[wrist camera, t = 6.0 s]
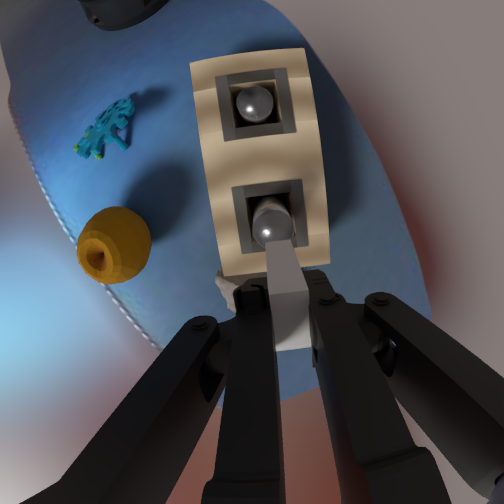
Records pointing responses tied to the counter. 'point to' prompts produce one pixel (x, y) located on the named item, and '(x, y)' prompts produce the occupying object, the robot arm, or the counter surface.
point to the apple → (114, 245)
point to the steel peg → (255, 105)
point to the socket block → (261, 154)
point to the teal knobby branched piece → (105, 130)
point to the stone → (233, 284)
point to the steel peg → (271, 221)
